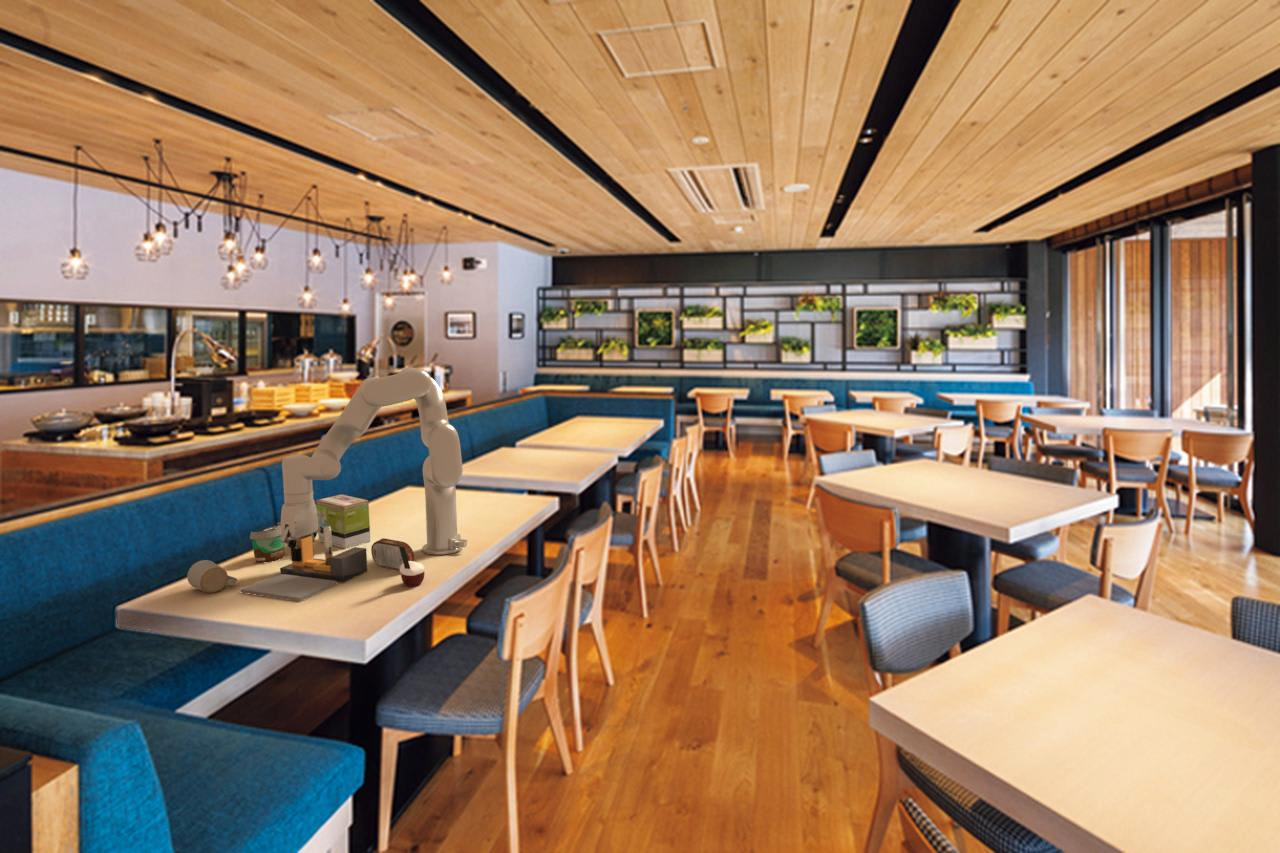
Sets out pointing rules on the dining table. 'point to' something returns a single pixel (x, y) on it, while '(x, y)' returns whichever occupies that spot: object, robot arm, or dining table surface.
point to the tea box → (344, 520)
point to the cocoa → (411, 570)
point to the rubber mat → (289, 587)
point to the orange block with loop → (309, 555)
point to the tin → (390, 553)
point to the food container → (268, 544)
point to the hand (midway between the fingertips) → (302, 557)
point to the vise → (333, 563)
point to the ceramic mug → (209, 577)
